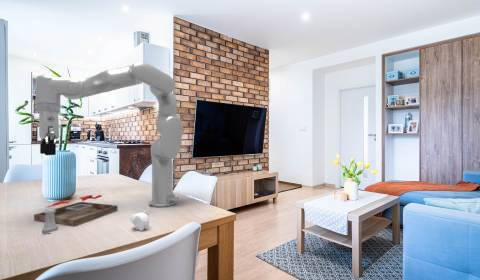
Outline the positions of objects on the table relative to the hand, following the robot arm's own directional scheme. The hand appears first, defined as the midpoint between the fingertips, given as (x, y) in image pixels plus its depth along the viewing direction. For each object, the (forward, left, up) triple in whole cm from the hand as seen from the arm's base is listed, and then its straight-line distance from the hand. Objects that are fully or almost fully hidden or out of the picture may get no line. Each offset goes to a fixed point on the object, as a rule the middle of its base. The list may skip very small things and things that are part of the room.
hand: (47, 154), depth 97 cm
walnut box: (-6, -7, -26) cm, 27 cm away
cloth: (+16, -25, -27) cm, 40 cm away
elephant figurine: (-38, -4, -26) cm, 46 cm away
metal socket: (-3, -10, -25) cm, 27 cm away
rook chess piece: (-11, +8, -26) cm, 29 cm away
